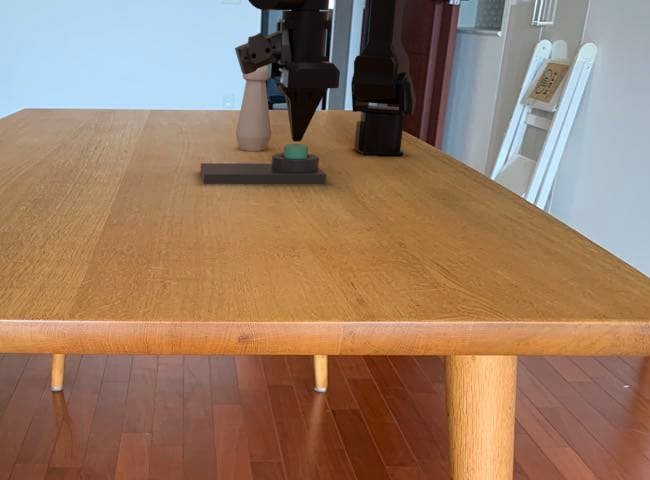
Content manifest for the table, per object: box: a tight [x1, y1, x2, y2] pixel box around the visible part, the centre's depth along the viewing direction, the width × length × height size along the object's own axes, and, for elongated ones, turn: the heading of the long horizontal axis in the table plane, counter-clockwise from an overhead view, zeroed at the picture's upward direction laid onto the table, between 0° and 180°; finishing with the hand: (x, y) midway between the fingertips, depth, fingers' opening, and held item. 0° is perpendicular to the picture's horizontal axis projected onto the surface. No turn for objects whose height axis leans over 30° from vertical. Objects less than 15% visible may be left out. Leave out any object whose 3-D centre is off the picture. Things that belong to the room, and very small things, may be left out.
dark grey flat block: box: [200, 152, 327, 185], centre depth 109 cm, size 16×8×3 cm, turn 93°
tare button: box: [283, 143, 309, 159], centre depth 108 cm, size 3×3×2 cm
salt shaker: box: [235, 65, 272, 152], centre depth 130 cm, size 6×6×13 cm
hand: (296, 141), depth 108 cm, fingers closed
